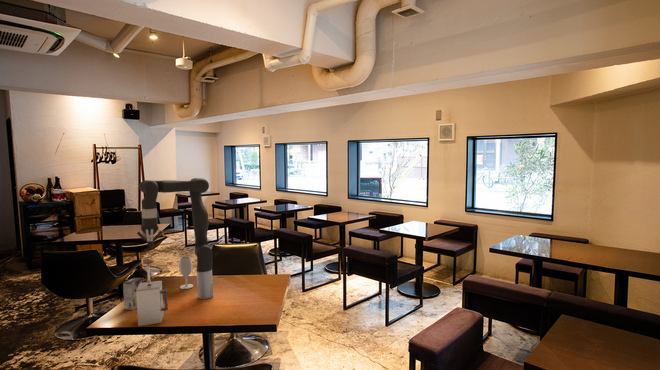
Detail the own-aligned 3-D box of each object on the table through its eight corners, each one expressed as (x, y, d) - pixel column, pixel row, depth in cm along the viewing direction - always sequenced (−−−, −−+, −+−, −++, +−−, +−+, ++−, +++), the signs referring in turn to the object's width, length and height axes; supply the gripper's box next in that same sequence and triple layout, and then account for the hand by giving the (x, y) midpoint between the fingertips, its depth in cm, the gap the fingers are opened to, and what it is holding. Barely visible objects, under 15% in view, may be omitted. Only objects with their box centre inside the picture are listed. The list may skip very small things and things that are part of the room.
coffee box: (135, 302, 216) (134, 277, 215) (144, 303, 215) (143, 277, 214) (124, 309, 207) (122, 282, 206) (133, 309, 206) (132, 283, 205)
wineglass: (180, 290, 235) (178, 259, 234) (179, 286, 243) (177, 256, 242) (194, 288, 239) (192, 257, 238) (192, 284, 247) (191, 254, 246)
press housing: (169, 313, 201) (167, 279, 199) (167, 321, 190) (165, 286, 189) (141, 317, 196) (139, 283, 195) (138, 326, 186) (136, 290, 184)
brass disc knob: (159, 292, 197) (157, 256, 196) (157, 297, 189) (155, 260, 188) (142, 294, 194) (140, 257, 193) (139, 299, 186) (137, 262, 185)
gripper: (163, 215, 200) (164, 245, 201) (137, 216, 196) (138, 247, 197) (162, 217, 193) (162, 248, 194) (134, 218, 189) (135, 250, 190)
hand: (150, 247), depth 195 cm, fingers closed
